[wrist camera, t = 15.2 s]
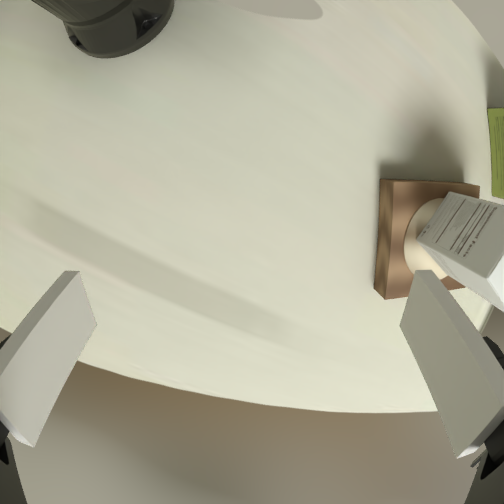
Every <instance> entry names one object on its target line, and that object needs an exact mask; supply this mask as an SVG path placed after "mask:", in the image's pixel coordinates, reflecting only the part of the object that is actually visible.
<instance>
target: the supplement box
mask: <svg viewBox="0 0 504 504" xmlns="http://www.w3.org/2000/svg"><path fill="white" fill-rule="evenodd" d="M416 241H417V242H418V243H419V244H420V245H421V246H422V248H423V249H424V250H425V251H426V252H427V253H428V254H429V255H430V256H431V257H432V259H433V260H434V261H435V262H436V263H437V264H438V265H439V266H440V268H441V269H442V270H443V271H444V272H445V273H446V274H447V275H448V276H450V277H451V278H453V279H455V280H456V281H458V282H459V283H461V284H462V285H464V286H465V287H467V288H469V289H470V290H472V291H473V292H475V293H476V294H478V295H479V296H481V297H482V298H484V299H485V300H487V301H488V302H490V303H491V304H493V305H494V306H496V307H497V308H498V309H500V310H501V311H503V312H504V205H500V204H497V203H493V202H489V201H486V200H482V199H478V198H474V197H471V196H466V195H462V194H458V193H454V192H448V194H447V195H446V197H445V198H444V200H443V201H442V203H441V204H440V206H439V207H438V209H437V210H436V212H435V213H434V215H433V216H432V218H431V219H430V220H429V222H428V223H427V225H426V226H425V228H424V229H423V230H422V232H421V233H420V235H419V236H418V237H417V239H416Z"/></svg>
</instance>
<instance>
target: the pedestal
mask: <svg viewBox="0 0 504 504" xmlns="http://www.w3.org/2000/svg"><path fill="white" fill-rule="evenodd" d="M448 192H454V193H458V194H462V195H466V196H471V197H474V198H478V199H479V193H480V186H477V185H472V184H468V183H460V182H445V181H426V180H400V179H380V204H379V228H378V245H377V259H376V271H375V281H374V289H375V290H376V291H377V292H378V293H379V294H380V295H381V296H382V297H383V298H384V299H385V300H387V299H394V298H401V297H408V296H409V292H410V289H411V285H412V281H413V278H414V274H415V270H432V271H433V272H434V273H435V274H436V276H437V277H438V278H439V279H440V281H441V282H442V283H443V285H444V286H445V287H446V288H447V290H453V289H459V288H465V286H464V285H462V284H461V283H459V282H458V281H456V280H455V279H453V278H451V277H450V276H448V275H447V274H446V273H445V272H444V271H443V270H442V269H441V268H440V266H439V265H438V264H437V263H436V262H435V261H434V260H433V259H432V257H431V256H430V255H429V254H428V253H427V252H426V251H425V250H424V249H423V248H422V246H421V245H420V244H419V243H418V242H417V241H416V239H417V237H418V236H419V235H420V233H421V232H422V230H423V229H424V228H425V226H426V225H427V223H428V222H429V220H430V219H431V218H432V216H433V215H434V213H435V212H436V210H437V209H438V207H439V206H440V204H441V203H442V201H443V200H444V198H445V197H446V195H447V194H448Z"/></svg>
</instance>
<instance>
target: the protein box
mask: <svg viewBox="0 0 504 504" xmlns="http://www.w3.org/2000/svg"><path fill="white" fill-rule="evenodd" d="M487 111H488V120H489V130H490V142H491V161H492V196H494V197H498V198H502V199H504V108H488V109H487Z"/></svg>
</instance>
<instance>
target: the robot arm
mask: <svg viewBox="0 0 504 504" xmlns="http://www.w3.org/2000/svg"><path fill="white" fill-rule="evenodd" d="M32 1H33V2H35V3H36V4H38V5H40V6H41V7H43V8H44V9H46V10H47V11H49V12H50V13H52V14H53V15H55V16H57V17H58V18H60V19H61V20H63V22H64V25H65V28H66V31H67V33H68V36H69V38H70V40H71V42H72V43H73V44H74V45H75V46H76V47H77V48H78V49H80V50H81V51H83V52H84V53H86V54H88V55H90V56H93V57H97V58H115V57H120V56H123V55H126V54H129V53H131V52H134V51H136V50H138V49H139V48H141V47H143V46H144V45H146V44H147V43H149V42H150V41H151V40H152V39H154V38H155V37H156V36H157V35H158V34H159V33H160V32H161V30H162V29H163V28H164V27H165V25H166V24H167V22H168V20H169V19H170V16H171V14H172V11H173V8H174V0H32ZM96 326H97V322H96V320H95V317H94V314H93V311H92V309H91V306H90V303H89V300H88V297H87V294H86V291H85V288H84V285H83V281H82V278H81V275H80V272H79V271H64V272H63V274H62V275H61V276H60V277H59V278H58V279H57V280H56V281H55V282H54V284H53V285H52V286H51V287H50V288H49V289H48V290H47V292H46V293H45V294H44V295H43V296H42V297H41V299H40V300H39V301H38V302H37V303H36V305H35V306H34V307H33V308H32V309H31V311H30V312H29V313H28V314H27V316H26V317H25V318H24V319H23V321H22V322H21V323H20V324H19V326H18V327H17V328H16V330H15V331H14V332H13V333H12V334H11V335H10V336H9V337H7V338H6V339H5V340H4V341H2V342H1V343H0V504H27V501H26V498H25V495H24V492H23V489H22V485H21V482H20V478H19V475H18V471H17V467H16V463H15V459H14V455H13V450H12V445H11V442H10V440H9V439H8V437H7V435H8V433H9V432H10V433H11V434H12V435H13V436H14V437H15V438H16V439H17V440H18V441H20V442H22V443H24V444H27V445H29V446H31V447H34V446H35V444H36V441H37V439H38V437H39V435H40V433H41V430H42V428H43V426H44V424H45V422H46V420H47V418H48V416H49V414H50V411H51V409H52V407H53V405H54V403H55V401H56V399H57V397H58V395H59V393H60V391H61V389H62V388H63V385H64V384H65V381H66V380H67V378H68V376H69V374H70V372H71V370H72V369H73V367H74V364H75V363H76V361H77V359H78V358H79V356H80V354H81V352H82V350H83V349H84V347H85V345H86V343H87V341H88V340H89V338H90V336H91V335H92V333H93V331H94V329H95V328H96ZM400 328H401V330H402V332H403V334H404V336H405V338H406V340H407V342H408V344H409V346H410V348H411V350H412V353H413V355H414V357H415V359H416V361H417V363H418V365H419V368H420V370H421V372H422V374H423V377H424V379H425V381H426V383H427V386H428V388H429V390H430V393H431V395H432V397H433V400H434V402H435V404H436V407H437V409H438V412H439V414H440V417H441V419H442V422H443V424H444V427H445V430H446V432H447V434H448V437H449V440H450V443H451V446H452V448H453V451H454V454H455V457H456V458H460V457H462V456H465V455H468V454H470V453H473V452H475V451H476V450H477V449H478V448H479V447H480V446H481V445H482V444H483V443H485V446H486V448H487V449H486V450H485V451H484V452H483V453H482V454H481V455H480V456H479V457H478V458H476V459H475V460H474V461H473V463H472V465H471V467H474V466H475V465H476V464H477V463H478V462H479V461H480V463H479V466H478V467H477V472H476V475H475V478H474V481H473V483H472V486H471V488H470V491H469V494H468V496H467V499H466V501H465V503H464V504H504V354H503V353H502V351H501V350H500V348H499V347H498V345H497V344H495V343H494V342H493V341H492V340H491V339H489V338H488V337H487V336H486V337H482V336H481V335H480V333H479V332H478V330H477V329H476V328H475V326H474V325H473V323H472V322H471V321H470V319H469V318H468V316H467V315H466V314H465V312H464V311H463V309H462V308H461V307H460V305H459V304H458V303H457V301H456V300H455V299H454V297H453V296H452V295H451V294H450V292H449V291H448V290H447V288H446V287H445V286H444V285H443V283H442V282H441V281H440V279H439V278H438V277H437V276H436V274H435V273H434V272H433V271H432V270H415V274H414V278H413V281H412V285H411V289H410V292H409V296H408V299H407V303H406V306H405V310H404V313H403V316H402V319H401V323H400Z"/></svg>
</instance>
